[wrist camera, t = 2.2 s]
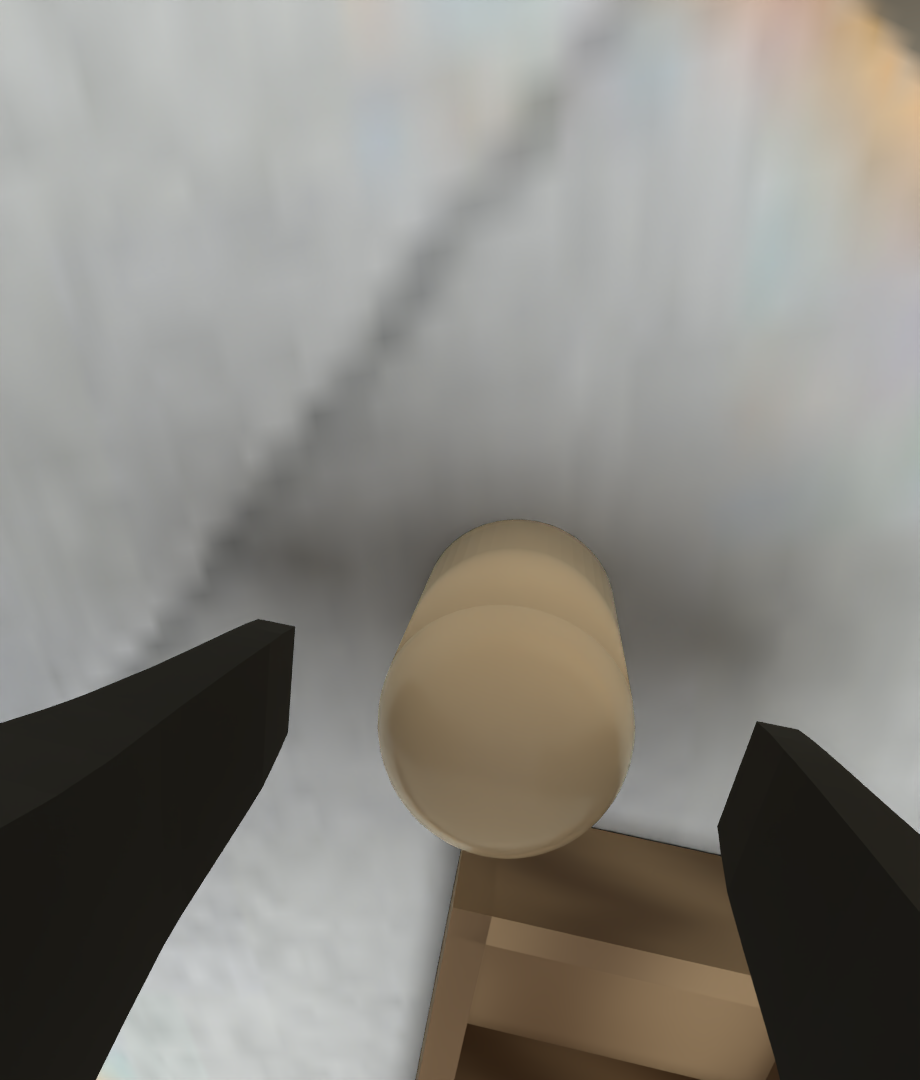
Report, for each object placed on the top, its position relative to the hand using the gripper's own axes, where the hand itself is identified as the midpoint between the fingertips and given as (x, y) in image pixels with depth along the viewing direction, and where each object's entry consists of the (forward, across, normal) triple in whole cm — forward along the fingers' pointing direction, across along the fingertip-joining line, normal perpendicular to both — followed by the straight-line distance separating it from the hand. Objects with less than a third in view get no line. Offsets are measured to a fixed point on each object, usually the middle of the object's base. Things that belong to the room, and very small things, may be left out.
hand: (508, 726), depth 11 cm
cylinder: (+4, 0, 0) cm, 4 cm away
